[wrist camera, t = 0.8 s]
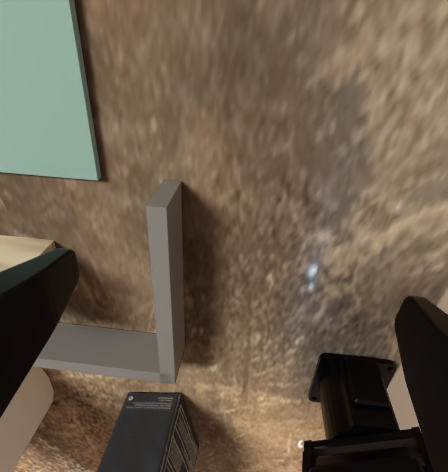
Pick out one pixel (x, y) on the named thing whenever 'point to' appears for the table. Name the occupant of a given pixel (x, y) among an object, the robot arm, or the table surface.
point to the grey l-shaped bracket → (166, 312)
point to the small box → (152, 436)
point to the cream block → (21, 250)
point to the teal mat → (44, 92)
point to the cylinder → (24, 417)
